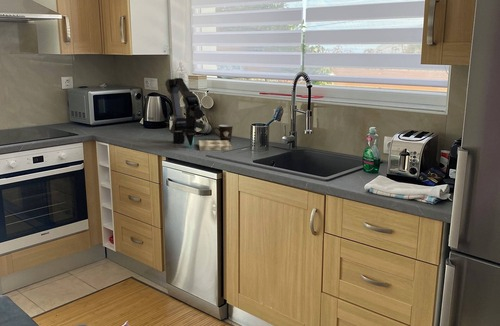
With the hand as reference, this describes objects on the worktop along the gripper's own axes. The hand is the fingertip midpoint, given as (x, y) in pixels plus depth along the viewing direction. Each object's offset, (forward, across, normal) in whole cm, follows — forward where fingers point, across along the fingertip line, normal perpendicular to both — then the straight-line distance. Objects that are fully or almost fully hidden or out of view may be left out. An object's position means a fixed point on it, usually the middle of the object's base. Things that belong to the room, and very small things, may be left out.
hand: (190, 143), depth 291 cm
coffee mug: (+2, +20, -21) cm, 29 cm away
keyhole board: (+2, 0, -14) cm, 14 cm away
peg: (+2, 0, 0) cm, 2 cm away
